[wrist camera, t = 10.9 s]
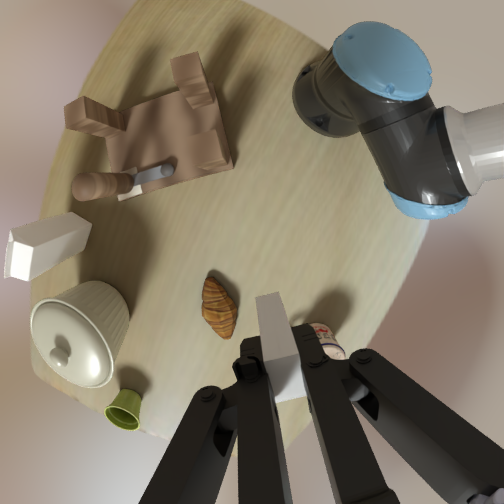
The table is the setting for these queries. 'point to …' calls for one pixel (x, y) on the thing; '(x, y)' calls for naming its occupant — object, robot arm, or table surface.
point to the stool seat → (161, 130)
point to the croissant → (218, 308)
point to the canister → (81, 332)
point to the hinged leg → (115, 182)
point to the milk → (44, 245)
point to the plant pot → (125, 410)
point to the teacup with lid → (328, 341)
